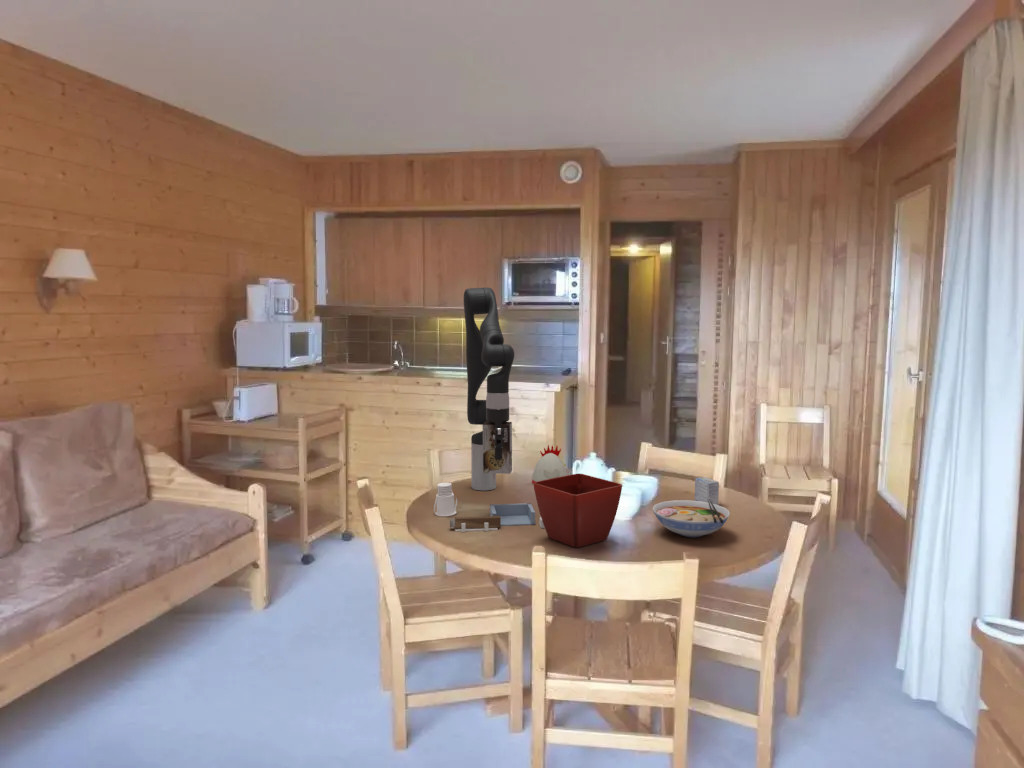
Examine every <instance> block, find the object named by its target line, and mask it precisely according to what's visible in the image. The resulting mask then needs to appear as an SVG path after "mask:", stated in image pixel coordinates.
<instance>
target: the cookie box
mask: <svg viewBox="0 0 1024 768" xmlns="http://www.w3.org/2000/svg"><path fill="white" fill-rule="evenodd" d="M481 427H482V431H483V473H489V474H496V475H497V474H498V475H499V474H500V475H501V474H502V475H503V474H507V475H508V474H509V475H510V474H512V471H513V422H512V421H507V422H502V428H503V429H504V431H503V438H504V440H503V448H502V459H501V460H496V459H495V447H494V445H495V442H494V441H493V435H495V424H494V422H485V423H484V424H483V425H482V426H481ZM497 443H501V441H497Z"/></svg>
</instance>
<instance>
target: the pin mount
mask: <svg viewBox="0 0 1024 768" xmlns="http://www.w3.org/2000/svg"><path fill="white" fill-rule="evenodd" d="M538 518H539V520H538V521H539V527H540V529H545V527H544V524H543V521H542V518H541V516H539V517H538ZM498 528H499V527H492V528H488V523H484V528H465V523H461V529H455V528H454V531H455V532H461V533H466V532H468V531H469V532H470V531H473V532H477V531H479V532H480V531H484V532H489V531H498Z"/></svg>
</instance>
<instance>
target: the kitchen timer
mask: <svg viewBox="0 0 1024 768" xmlns="http://www.w3.org/2000/svg"><path fill="white" fill-rule="evenodd" d="M558 449H559V447H558V445H556V446H555V449H554V446H553V444H551V449H550V445H549V444H548V445H547V448H545V447H543V451H544V453H543V452H542V451H541V450H540V455H541V457H540V458H539V459H538V460H537V462H536V463H535V465H534V468H533V472H532V476H531V483H532V485H533V486H534V482H537V481H542V480H547V479H552V478H557V477H562V476H567V475H568V472H567V470H566V469H567V468H566V465H567V464H566V463H564V462H563V460H562V459H561V457H560V456H559V455H560V453H561V451H562V448H560V449H559V450H558Z"/></svg>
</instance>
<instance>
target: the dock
mask: <svg viewBox="0 0 1024 768" xmlns="http://www.w3.org/2000/svg"><path fill="white" fill-rule="evenodd" d="M489 516H500V517H501V527H504V526H505V527H507V526H535V525H536V511H535V508H534V507H533V505H532V503H531V502H529V503H526V502H525V503H497V504H496V503H493V504H489Z"/></svg>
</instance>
